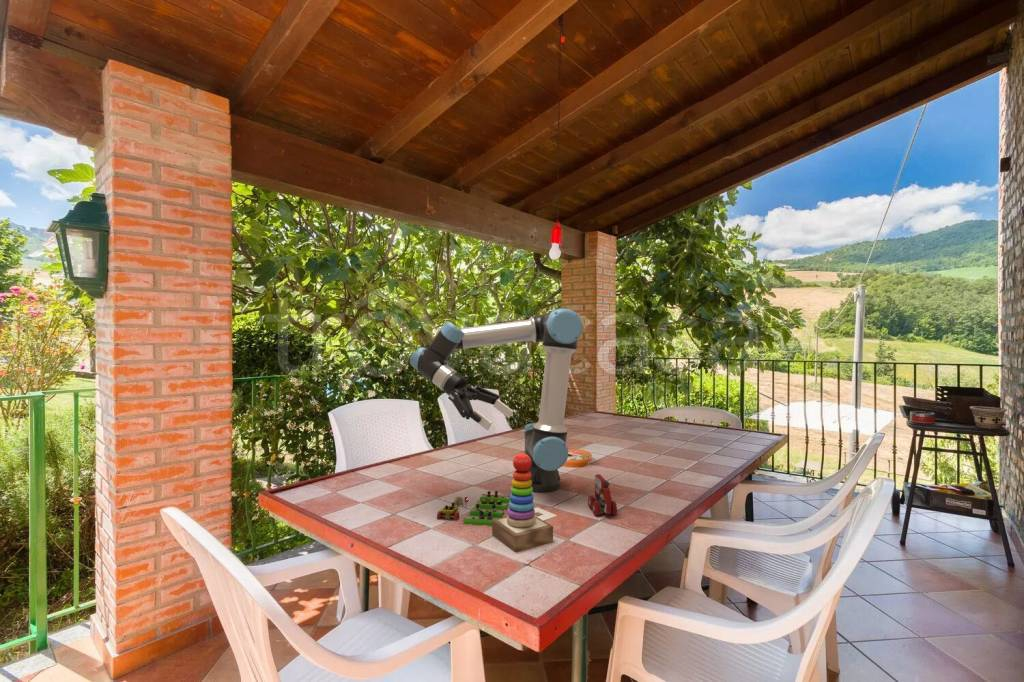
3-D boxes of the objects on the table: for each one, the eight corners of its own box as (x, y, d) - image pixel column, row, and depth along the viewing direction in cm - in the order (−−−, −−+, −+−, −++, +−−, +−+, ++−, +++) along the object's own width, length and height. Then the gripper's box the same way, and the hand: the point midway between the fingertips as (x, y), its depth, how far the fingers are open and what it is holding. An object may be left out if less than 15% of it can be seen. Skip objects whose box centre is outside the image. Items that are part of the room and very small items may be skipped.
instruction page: (537, 507, 149) (537, 506, 149) (557, 516, 142) (557, 515, 142) (508, 517, 141) (508, 516, 141) (527, 526, 134) (527, 525, 134)
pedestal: (528, 525, 135) (528, 511, 135) (553, 541, 125) (553, 525, 124) (492, 535, 128) (492, 519, 128) (515, 552, 118) (515, 535, 118)
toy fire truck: (597, 519, 139) (597, 485, 139) (586, 505, 152) (586, 473, 152) (619, 518, 140) (619, 484, 140) (607, 504, 152) (607, 472, 152)
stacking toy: (533, 529, 122) (533, 458, 122) (503, 527, 123) (503, 456, 123) (537, 518, 130) (537, 451, 129) (509, 515, 131) (509, 449, 131)
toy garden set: (497, 528, 134) (497, 512, 134) (434, 524, 138) (434, 508, 138) (511, 501, 157) (511, 487, 157) (457, 497, 160) (457, 484, 160)
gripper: (466, 383, 162) (514, 419, 155) (421, 399, 140) (474, 442, 133) (475, 365, 159) (524, 401, 152) (430, 379, 137) (485, 421, 130)
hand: (501, 420), depth 142 cm, fingers open, 13 cm apart
